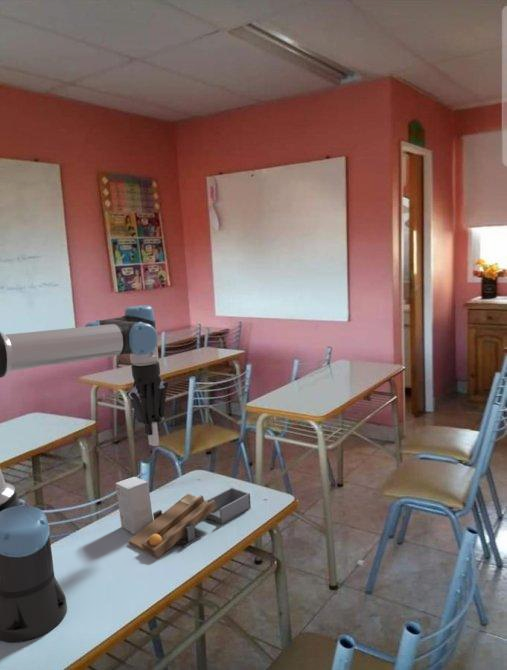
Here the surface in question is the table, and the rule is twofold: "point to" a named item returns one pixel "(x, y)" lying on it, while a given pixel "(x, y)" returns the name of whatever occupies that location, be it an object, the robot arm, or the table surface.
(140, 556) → the table surface
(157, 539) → the ball
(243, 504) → the tray
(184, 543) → the pivot bracket
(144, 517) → the small box
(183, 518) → the seesaw
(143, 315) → the robot arm
